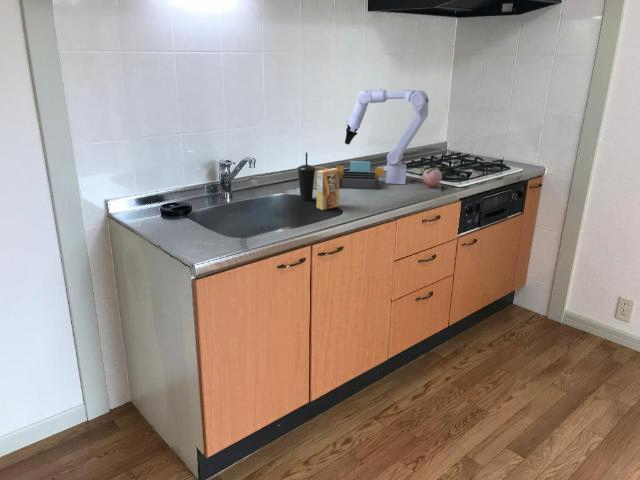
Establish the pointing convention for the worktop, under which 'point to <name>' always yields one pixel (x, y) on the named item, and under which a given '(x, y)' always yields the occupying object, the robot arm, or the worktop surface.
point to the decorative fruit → (432, 176)
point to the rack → (359, 179)
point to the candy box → (328, 188)
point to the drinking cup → (306, 181)
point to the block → (359, 166)
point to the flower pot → (316, 176)
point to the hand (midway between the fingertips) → (347, 141)
